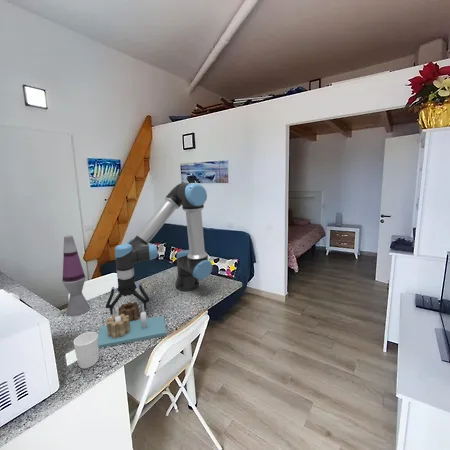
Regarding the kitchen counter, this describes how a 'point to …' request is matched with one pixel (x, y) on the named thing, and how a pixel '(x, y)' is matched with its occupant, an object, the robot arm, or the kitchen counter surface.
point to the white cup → (87, 349)
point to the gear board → (134, 331)
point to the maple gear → (118, 326)
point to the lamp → (73, 278)
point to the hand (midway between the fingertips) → (129, 317)
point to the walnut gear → (130, 310)
